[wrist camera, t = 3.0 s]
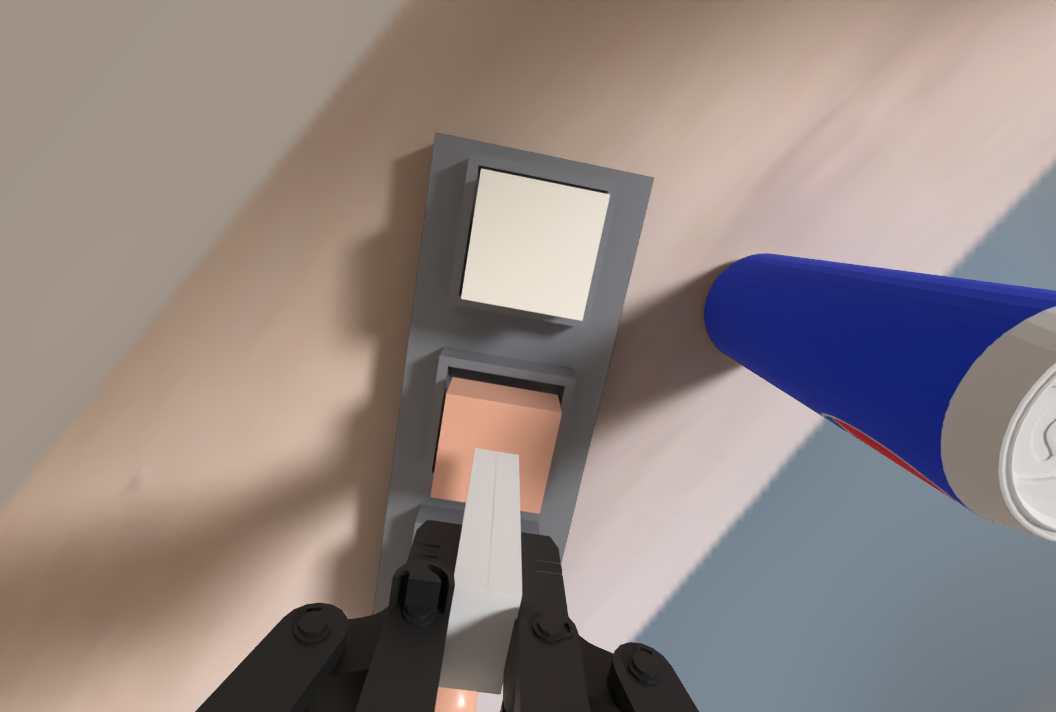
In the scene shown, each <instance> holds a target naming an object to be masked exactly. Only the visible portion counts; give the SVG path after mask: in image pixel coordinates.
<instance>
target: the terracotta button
mask: <svg viewBox="0 0 1056 712" xmlns="http://www.w3.org/2000/svg"><path fill="white" fill-rule="evenodd" d="M561 415H562V411H561V407H560V403H559V399H558V395H555V394H549V393H544V392H538V391H532V390H526V389H520V388H514V387H508V386H502V385H496V384H491V383H485V382H479V381H473V380H467V379H461V378H455V377H453V378H452V380H451V383H450V385H449V388H448V391H447V393H446V399H445V405H444V412H443V418H442V425H441V431H440V438H439V444H438V451H437V457H436V464H435V470H434V477H433V483H432V490H431V496H430V497H432V498H439V499H445V500H452V501H459V502H465V503H466V499H467V493H468V488H469V482H470V476H471V470H472V465H473V459H474V453H475V448H479V449H485V450H491V451H498V452H504V453H510V454H516V455H519V480H520V511H525V512H531V513H538V514H540V510H541V506H542V501H543V497H544V492H545V488H546V483H547V479H548V474H549V470H550V465H551V460H552V456H553V451H554V447H555V442H556V438H557V433H558V429H559V424H560V420H561Z"/></svg>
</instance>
